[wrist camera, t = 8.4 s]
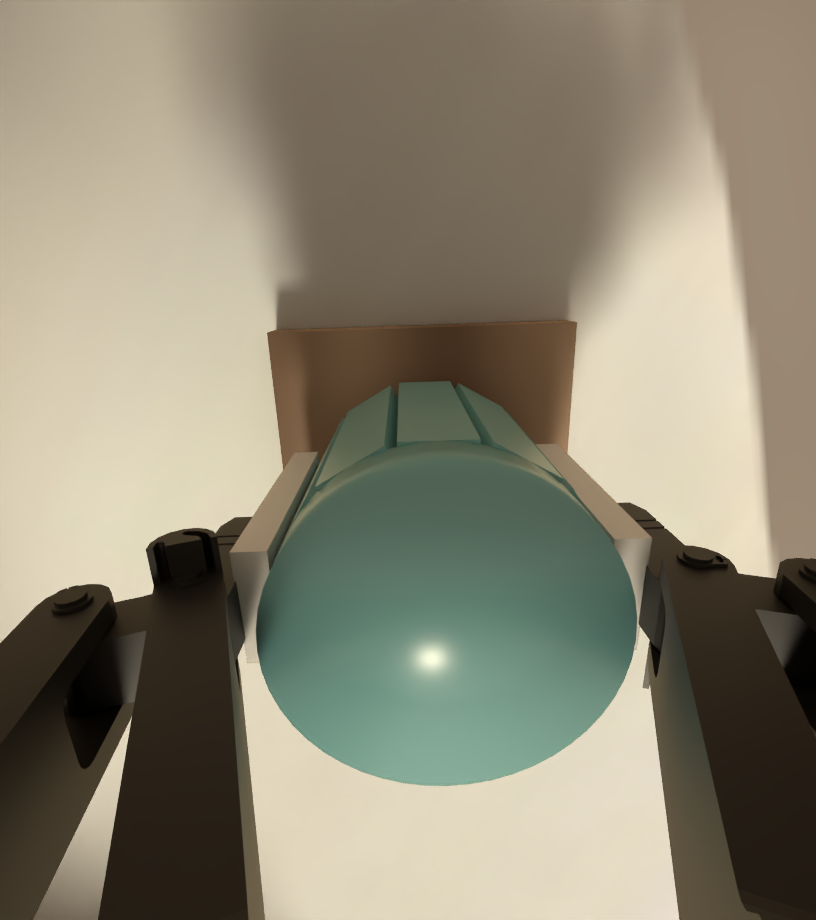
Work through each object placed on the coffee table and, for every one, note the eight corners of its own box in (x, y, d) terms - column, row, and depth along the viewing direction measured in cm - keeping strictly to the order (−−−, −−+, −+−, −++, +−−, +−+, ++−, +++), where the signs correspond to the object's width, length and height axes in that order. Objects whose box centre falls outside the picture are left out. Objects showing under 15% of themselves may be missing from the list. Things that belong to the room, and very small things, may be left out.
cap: (330, 580, 18) (278, 791, 10) (312, 385, 16) (229, 473, 8) (526, 573, 18) (616, 780, 10) (536, 378, 16) (660, 459, 8)
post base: (304, 581, 21) (261, 711, 14) (276, 329, 17) (203, 353, 11) (548, 573, 21) (614, 699, 14) (565, 320, 17) (659, 338, 11)
